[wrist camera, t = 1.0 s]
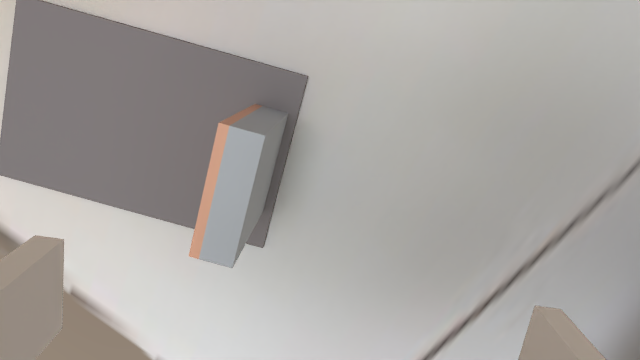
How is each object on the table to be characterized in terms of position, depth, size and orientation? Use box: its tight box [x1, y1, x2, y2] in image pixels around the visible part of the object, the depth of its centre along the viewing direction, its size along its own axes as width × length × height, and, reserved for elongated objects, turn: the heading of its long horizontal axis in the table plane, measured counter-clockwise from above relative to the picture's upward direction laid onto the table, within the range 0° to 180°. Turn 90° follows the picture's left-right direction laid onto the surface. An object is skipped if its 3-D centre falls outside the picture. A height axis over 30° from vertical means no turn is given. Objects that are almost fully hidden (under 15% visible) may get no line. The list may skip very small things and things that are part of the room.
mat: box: [0, 0, 308, 248], centre depth 39 cm, size 22×14×1 cm, turn 75°
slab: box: [189, 104, 288, 268], centre depth 33 cm, size 3×8×11 cm, turn 165°
